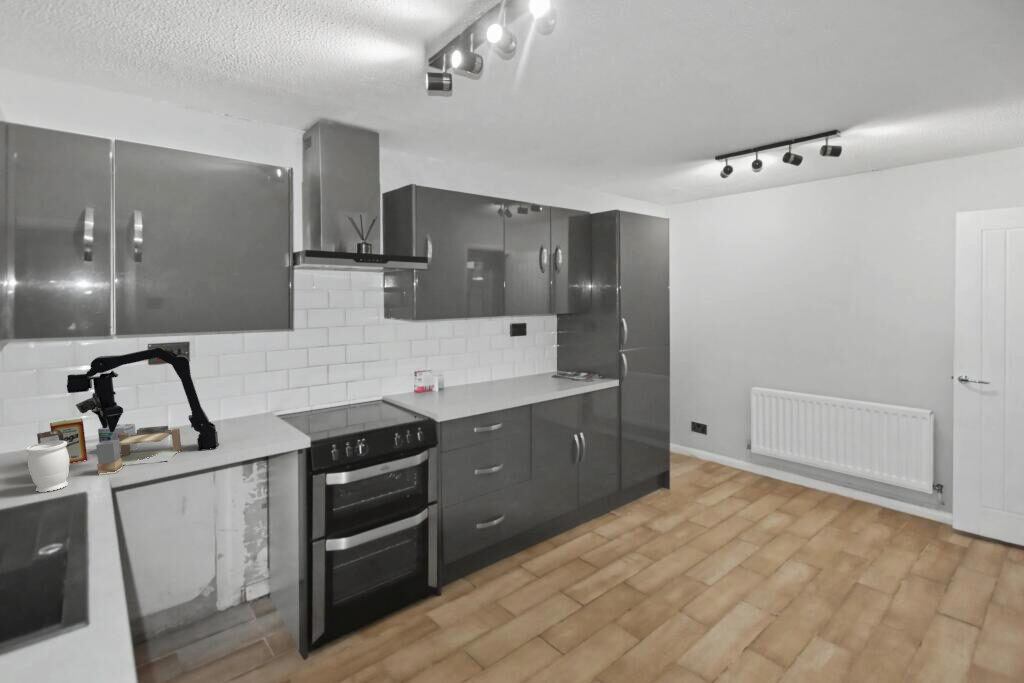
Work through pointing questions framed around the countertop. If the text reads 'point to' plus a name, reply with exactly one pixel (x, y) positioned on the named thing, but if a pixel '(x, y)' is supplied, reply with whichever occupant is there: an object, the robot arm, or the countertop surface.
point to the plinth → (109, 466)
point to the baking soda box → (72, 438)
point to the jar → (48, 465)
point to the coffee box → (50, 436)
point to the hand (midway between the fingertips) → (108, 430)
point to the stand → (133, 457)
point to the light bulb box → (117, 434)
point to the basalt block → (108, 451)
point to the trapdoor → (147, 435)
